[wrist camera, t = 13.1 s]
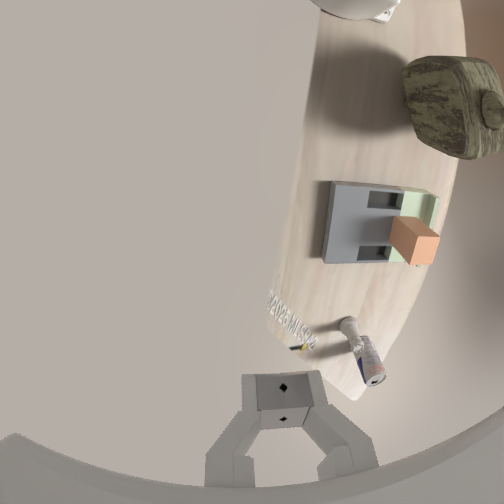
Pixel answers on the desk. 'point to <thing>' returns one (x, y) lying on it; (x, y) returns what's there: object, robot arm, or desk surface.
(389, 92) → the desk surface
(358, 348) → the rook chess piece
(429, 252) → the block
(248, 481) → the robot arm
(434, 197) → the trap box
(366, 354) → the energy drink
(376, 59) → the desk surface
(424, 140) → the tabletop clock
